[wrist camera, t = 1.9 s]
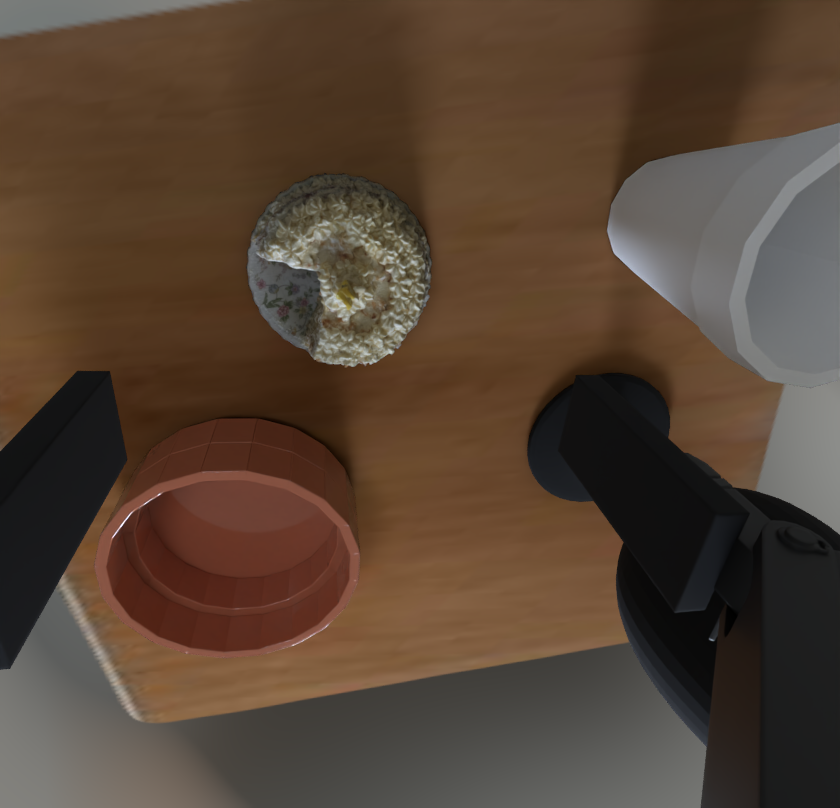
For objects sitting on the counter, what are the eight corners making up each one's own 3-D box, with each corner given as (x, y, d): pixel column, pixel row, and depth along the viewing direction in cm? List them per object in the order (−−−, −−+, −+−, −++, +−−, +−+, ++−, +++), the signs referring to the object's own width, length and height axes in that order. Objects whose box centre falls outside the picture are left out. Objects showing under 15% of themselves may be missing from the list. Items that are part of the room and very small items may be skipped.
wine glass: (652, 492, 41) (896, 771, 23) (520, 505, 39) (672, 811, 22) (682, 367, 36) (1021, 598, 18) (533, 376, 34) (742, 635, 17)
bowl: (111, 414, 31) (69, 474, 26) (357, 413, 34) (364, 468, 28) (148, 590, 37) (120, 667, 32) (351, 578, 40) (355, 647, 35)
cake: (376, 134, 27) (396, 132, 22) (456, 303, 32) (487, 331, 27) (206, 232, 27) (189, 251, 22) (311, 385, 32) (316, 427, 27)
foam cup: (596, 123, 28) (778, 119, 16) (757, 123, 29) (1032, 119, 18) (572, 300, 32) (703, 395, 21) (713, 294, 33) (910, 380, 22)
